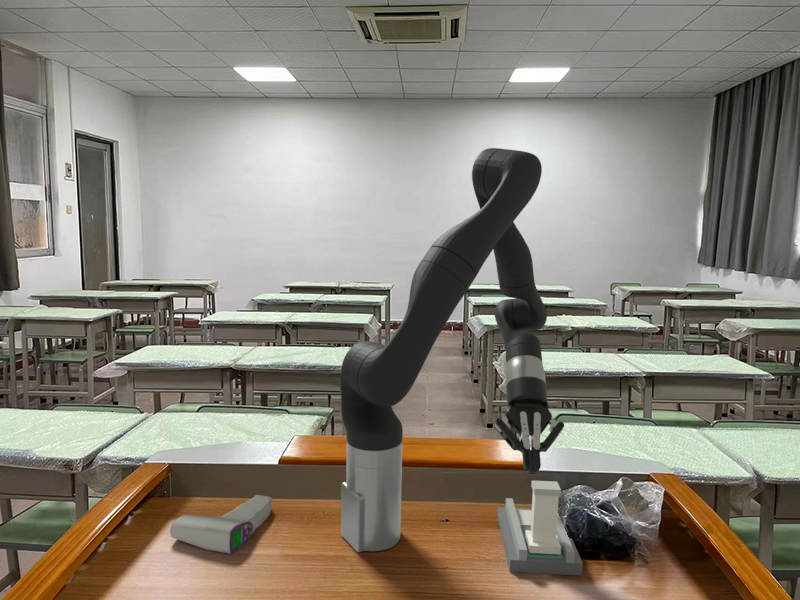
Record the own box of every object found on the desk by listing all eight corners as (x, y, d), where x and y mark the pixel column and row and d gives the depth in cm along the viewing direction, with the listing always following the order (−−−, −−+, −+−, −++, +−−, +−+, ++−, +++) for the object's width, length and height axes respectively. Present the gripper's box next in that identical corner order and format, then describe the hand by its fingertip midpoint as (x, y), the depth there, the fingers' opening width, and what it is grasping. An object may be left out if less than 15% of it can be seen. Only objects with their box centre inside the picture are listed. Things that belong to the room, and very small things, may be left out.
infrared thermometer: (276, 516, 106) (234, 558, 91) (217, 507, 109) (167, 546, 94) (277, 492, 105) (234, 530, 91) (217, 484, 108) (167, 519, 94)
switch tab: (560, 554, 89) (564, 492, 88) (529, 552, 89) (533, 491, 88) (554, 538, 94) (558, 479, 92) (524, 537, 94) (528, 478, 92)
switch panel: (581, 575, 88) (583, 552, 88) (509, 571, 89) (510, 549, 88) (558, 520, 104) (560, 500, 104) (497, 517, 105) (498, 497, 104)
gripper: (493, 373, 108) (497, 462, 98) (564, 376, 108) (575, 467, 97) (489, 392, 114) (492, 478, 104) (556, 395, 114) (566, 482, 103)
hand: (532, 472), depth 101 cm, fingers closed
